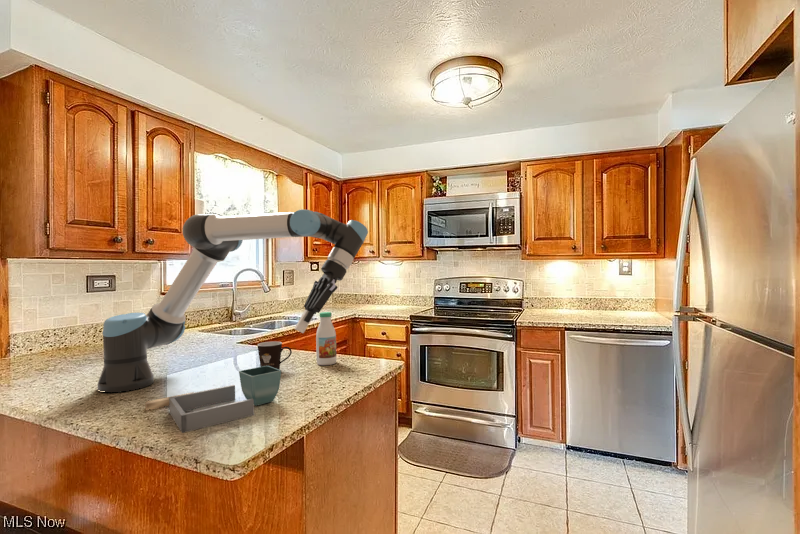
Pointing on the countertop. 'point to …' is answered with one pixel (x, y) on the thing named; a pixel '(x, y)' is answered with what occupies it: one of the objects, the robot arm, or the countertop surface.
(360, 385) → the countertop surface
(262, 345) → the coffee mug
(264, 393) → the flower pot
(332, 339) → the milk bottle
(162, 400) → the scraper
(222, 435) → the countertop surface
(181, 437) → the countertop surface
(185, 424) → the box
